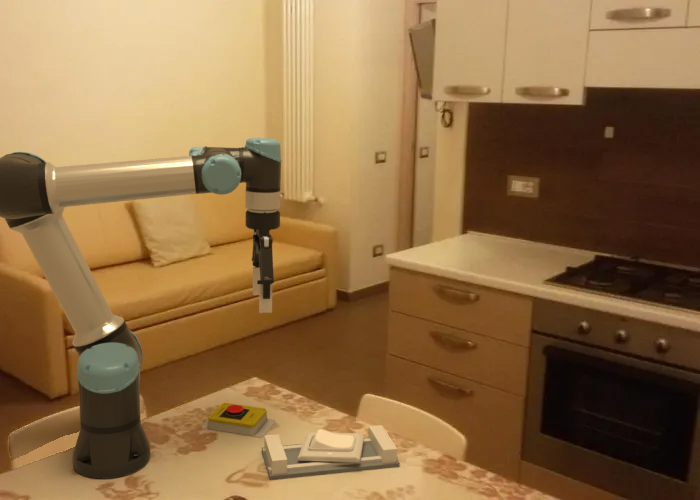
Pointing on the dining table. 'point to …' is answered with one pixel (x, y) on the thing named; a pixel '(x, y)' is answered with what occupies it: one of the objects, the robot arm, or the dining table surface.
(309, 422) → the dining table surface
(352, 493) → the dining table surface
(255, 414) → the emergency button
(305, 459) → the light switch
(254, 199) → the robot arm
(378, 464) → the rail board
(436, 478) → the dining table surface
